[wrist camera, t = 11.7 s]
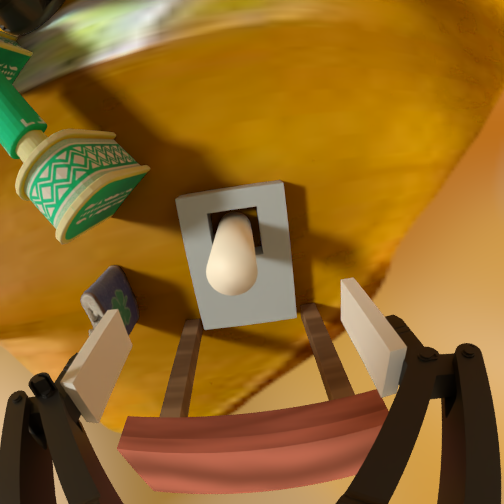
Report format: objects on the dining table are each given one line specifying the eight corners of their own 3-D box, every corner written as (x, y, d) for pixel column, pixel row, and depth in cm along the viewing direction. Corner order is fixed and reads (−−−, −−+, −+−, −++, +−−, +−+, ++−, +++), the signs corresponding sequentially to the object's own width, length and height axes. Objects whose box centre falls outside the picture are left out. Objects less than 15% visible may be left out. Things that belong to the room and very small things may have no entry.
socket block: (180, 195, 35) (175, 199, 32) (279, 180, 35) (283, 182, 32) (206, 317, 40) (204, 329, 37) (293, 306, 40) (296, 317, 37)
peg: (215, 214, 36) (201, 252, 22) (248, 209, 36) (253, 244, 22) (221, 245, 37) (211, 298, 24) (253, 240, 37) (260, 291, 24)
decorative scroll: (151, 168, 34) (95, 182, 19) (111, 217, 35) (47, 257, 21) (16, 36, 24) (-43, 17, 10) (-11, 79, 26) (-73, 73, 12)
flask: (105, 265, 37) (69, 302, 27) (123, 262, 37) (90, 299, 27) (126, 322, 40) (101, 368, 30) (144, 321, 40) (121, 368, 30)
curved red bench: (177, 288, 39) (116, 448, 15) (312, 269, 38) (393, 421, 15) (189, 331, 41) (154, 491, 17) (314, 314, 41) (375, 468, 17)
